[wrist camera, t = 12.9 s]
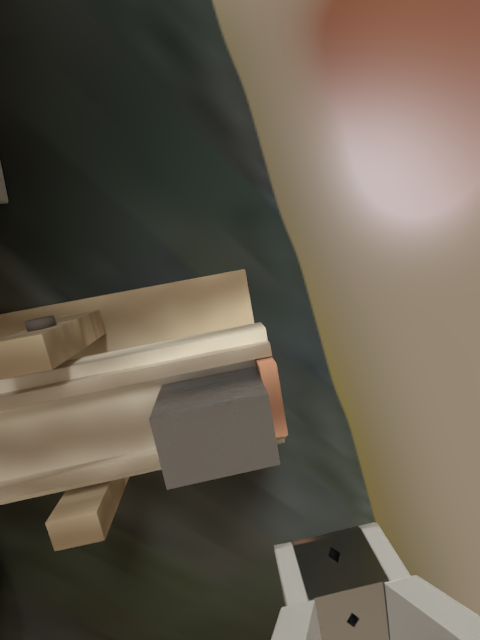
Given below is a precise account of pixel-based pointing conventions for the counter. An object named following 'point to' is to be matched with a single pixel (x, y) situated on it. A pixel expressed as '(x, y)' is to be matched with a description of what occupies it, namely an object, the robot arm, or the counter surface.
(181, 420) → the block
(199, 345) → the beige long grooved bar
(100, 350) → the pivot stand
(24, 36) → the counter surface
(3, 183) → the coffee box
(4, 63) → the counter surface
